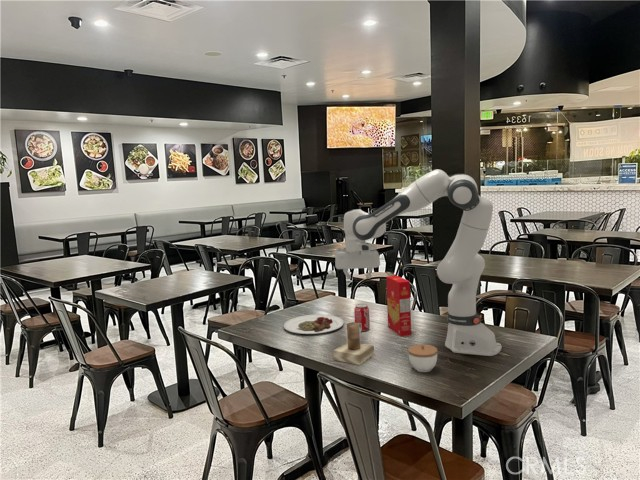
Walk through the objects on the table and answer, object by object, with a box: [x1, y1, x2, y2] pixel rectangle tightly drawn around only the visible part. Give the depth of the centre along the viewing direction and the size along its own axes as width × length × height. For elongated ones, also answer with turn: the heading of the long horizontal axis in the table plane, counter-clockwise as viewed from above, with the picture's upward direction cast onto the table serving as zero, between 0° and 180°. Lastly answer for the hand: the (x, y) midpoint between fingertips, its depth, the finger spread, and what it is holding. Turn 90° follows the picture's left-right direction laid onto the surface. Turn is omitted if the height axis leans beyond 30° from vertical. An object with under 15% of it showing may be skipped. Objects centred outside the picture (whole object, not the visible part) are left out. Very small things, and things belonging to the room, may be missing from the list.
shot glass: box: [344, 327, 362, 343], centre depth 209 cm, size 7×7×7 cm
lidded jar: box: [407, 343, 438, 373], centre depth 179 cm, size 11×11×9 cm
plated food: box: [283, 313, 345, 335], centre depth 237 cm, size 30×30×3 cm
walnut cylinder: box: [346, 321, 361, 350], centre depth 193 cm, size 5×5×10 cm
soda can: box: [353, 303, 371, 332], centre depth 228 cm, size 7×7×12 cm
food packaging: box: [385, 274, 412, 337], centre depth 222 cm, size 15×5×25 cm, turn 14°
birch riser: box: [333, 341, 375, 366], centre depth 194 cm, size 12×12×4 cm
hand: (358, 278), depth 206 cm, fingers open, 8 cm apart
